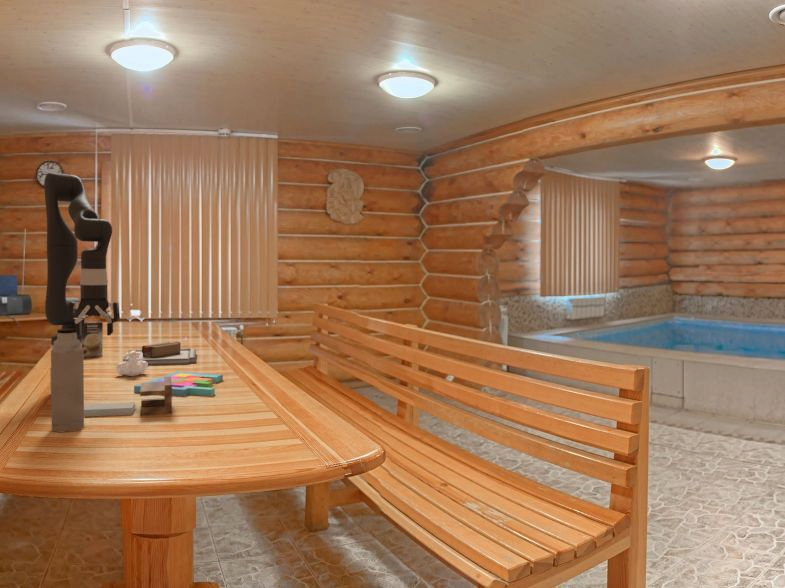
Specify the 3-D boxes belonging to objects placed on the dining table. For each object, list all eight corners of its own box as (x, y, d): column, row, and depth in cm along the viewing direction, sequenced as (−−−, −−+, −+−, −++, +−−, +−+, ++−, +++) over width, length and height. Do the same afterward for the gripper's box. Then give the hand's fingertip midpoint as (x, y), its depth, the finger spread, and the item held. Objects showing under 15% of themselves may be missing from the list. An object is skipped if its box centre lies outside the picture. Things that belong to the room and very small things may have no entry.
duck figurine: (116, 382, 239) (119, 362, 233) (113, 368, 244) (116, 348, 237) (148, 379, 246) (152, 360, 240) (144, 365, 250) (148, 346, 244)
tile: (81, 418, 181) (81, 409, 181) (86, 412, 188) (86, 404, 188) (132, 415, 185) (132, 407, 185) (135, 410, 192) (135, 402, 192)
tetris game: (134, 393, 214) (206, 399, 208) (134, 385, 214) (206, 391, 208) (177, 378, 241) (242, 383, 236) (177, 371, 241) (242, 376, 236)
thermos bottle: (46, 428, 169) (45, 328, 167) (76, 422, 175) (75, 326, 173) (58, 434, 164) (57, 331, 162) (89, 428, 170) (88, 329, 168)
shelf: (140, 415, 184) (140, 386, 183) (141, 405, 196) (141, 377, 195) (171, 413, 187) (171, 384, 187) (170, 403, 199) (170, 376, 199)
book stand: (130, 356, 290) (130, 340, 289) (195, 354, 299) (195, 339, 298) (122, 367, 261) (122, 350, 261) (195, 365, 270) (195, 348, 270)
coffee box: (81, 357, 278) (81, 323, 277) (78, 355, 283) (78, 321, 282) (103, 356, 284) (102, 322, 283) (99, 354, 289) (99, 320, 288)
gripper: (65, 283, 182) (65, 337, 183) (115, 284, 185) (116, 336, 186) (72, 282, 190) (73, 334, 191) (121, 283, 193) (121, 333, 194)
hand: (94, 335), depth 188 cm, fingers open, 8 cm apart
